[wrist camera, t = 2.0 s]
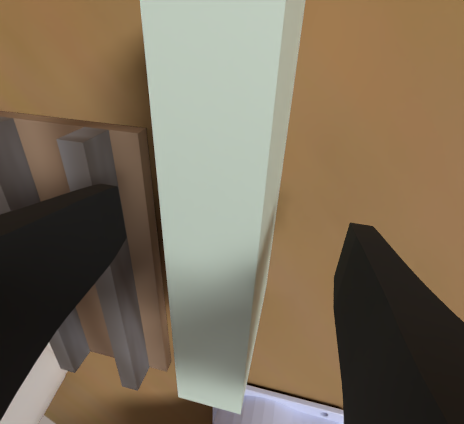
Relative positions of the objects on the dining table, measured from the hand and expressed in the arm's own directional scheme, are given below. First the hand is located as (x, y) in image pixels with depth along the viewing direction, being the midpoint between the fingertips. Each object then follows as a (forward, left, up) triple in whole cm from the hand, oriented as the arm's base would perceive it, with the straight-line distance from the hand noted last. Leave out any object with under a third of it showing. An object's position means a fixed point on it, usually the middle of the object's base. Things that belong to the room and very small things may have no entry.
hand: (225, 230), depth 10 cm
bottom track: (+10, +8, -5) cm, 13 cm away
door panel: (0, 0, -5) cm, 5 cm away
